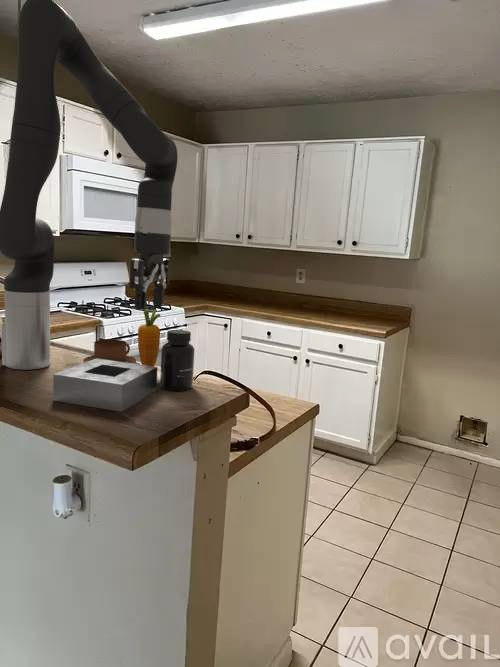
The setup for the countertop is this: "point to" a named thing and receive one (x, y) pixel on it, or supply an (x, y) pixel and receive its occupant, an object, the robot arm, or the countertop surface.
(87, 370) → the metal housing
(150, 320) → the carrot
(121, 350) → the cup and saucer
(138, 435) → the countertop surface
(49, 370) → the countertop surface
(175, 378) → the supplement bottle
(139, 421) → the countertop surface
